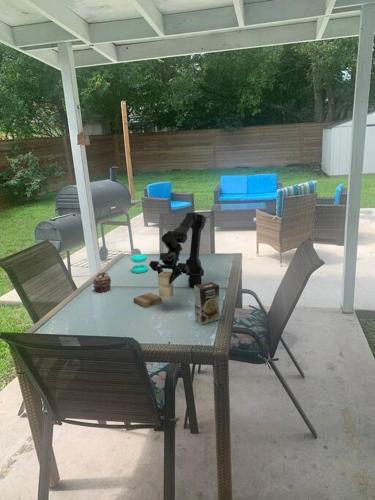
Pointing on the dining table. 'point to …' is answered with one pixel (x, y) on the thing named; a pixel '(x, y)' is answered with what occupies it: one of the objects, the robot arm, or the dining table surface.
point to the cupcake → (102, 283)
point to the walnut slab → (147, 300)
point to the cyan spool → (139, 259)
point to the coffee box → (206, 302)
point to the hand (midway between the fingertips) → (164, 283)
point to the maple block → (165, 285)
